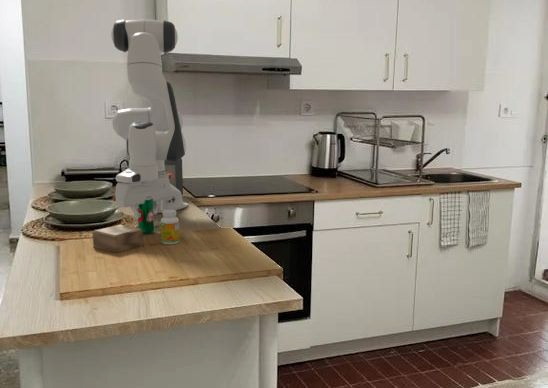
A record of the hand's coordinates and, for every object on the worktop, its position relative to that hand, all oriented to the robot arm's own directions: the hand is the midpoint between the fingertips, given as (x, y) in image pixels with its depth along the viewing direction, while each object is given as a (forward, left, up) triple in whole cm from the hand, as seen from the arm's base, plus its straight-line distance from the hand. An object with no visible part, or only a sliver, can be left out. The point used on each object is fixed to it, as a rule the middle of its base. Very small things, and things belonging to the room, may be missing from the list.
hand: (145, 216), depth 178 cm
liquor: (-52, -42, -6) cm, 67 cm away
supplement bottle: (+4, +15, -6) cm, 17 cm away
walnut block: (+16, +6, -5) cm, 18 cm away
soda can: (0, 0, -5) cm, 5 cm away
